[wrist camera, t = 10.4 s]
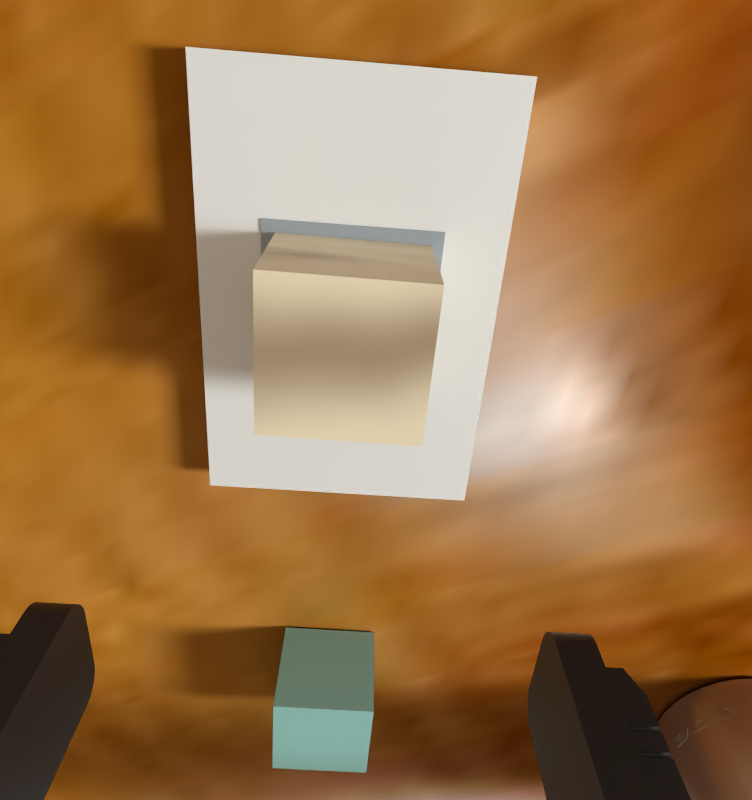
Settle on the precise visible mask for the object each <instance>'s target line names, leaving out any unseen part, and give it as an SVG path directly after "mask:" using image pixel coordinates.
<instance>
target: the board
mask: <svg viewBox="0 0 752 800" xmlns="http://www.w3.org/2000/svg"><path fill="white" fill-rule="evenodd" d="M185 49H186V67H187V84H188V102H189V120H190V138H191V155H192V173H193V191H194V208H195V226H196V244H197V261H198V279H199V297H200V314H201V332H202V350H203V368H204V385H205V403H206V421H207V438H208V456H209V474H210V485H216V486H232V487H249V488H265V489H282V490H298V491H315V492H332V493H348V494H365V495H381V496H398V497H415V498H431V499H448V500H464V499H465V494H466V488H467V482H468V476H469V470H470V464H471V459H472V453H473V447H474V441H475V435H476V430H477V424H478V418H479V412H480V406H481V401H482V395H483V389H484V383H485V377H486V372H487V366H488V360H489V354H490V348H491V343H492V337H493V331H494V325H495V319H496V313H497V308H498V302H499V296H500V290H501V284H502V279H503V273H504V267H505V261H506V255H507V250H508V244H509V238H510V232H511V226H512V221H513V215H514V209H515V203H516V197H517V191H518V186H519V180H520V174H521V168H522V162H523V157H524V151H525V145H526V139H527V133H528V128H529V122H530V116H531V110H532V104H533V99H534V93H535V87H536V81H537V77H535V76H524V75H512V74H500V73H488V72H477V71H465V70H453V69H441V68H429V67H418V66H406V65H394V64H382V63H371V62H359V61H347V60H335V59H324V58H312V57H300V56H288V55H276V54H265V53H253V52H241V51H229V50H218V49H206V48H194V47H185ZM275 232H278V233H290V234H302V235H314V236H326V237H338V238H350V239H362V240H374V241H386V242H398V243H410V244H422V245H432V248H433V251H434V254H435V257H436V260H437V263H438V267H439V270H440V273H441V276H442V279H443V282H444V291H443V298H442V305H441V313H440V320H439V327H438V334H437V342H436V349H435V356H434V364H433V371H432V378H431V385H430V393H429V400H428V407H427V414H426V422H425V429H424V436H423V443H422V447H421V446H407V445H393V444H379V443H365V442H351V441H336V440H322V439H308V438H294V437H280V436H265V435H254V348H253V269H254V267H255V265H256V264H257V262H258V260H259V259H260V257H261V255H262V254H263V252H264V250H265V249H266V247H267V245H268V244H269V242H270V240H271V239H272V237H273V235H274V234H275Z"/></svg>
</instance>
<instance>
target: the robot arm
mask: <svg viewBox="0 0 752 800" xmlns="http://www.w3.org/2000/svg"><path fill="white" fill-rule="evenodd" d="M94 675H95V666H94V659H93V654H92V648H91V643H90V638H89V632H88V627H87V622H86V616H85V612H84V609H83V607H82V606H81V605H78V604H60V603H42V602H35V603H32V604H31V605H30V606H29V607H28V608H27V609H26V610H25V612H24V613H23V615H22V616H21V618H20V619H19V621H18V623H17V624H16V626H15V627H14V629H13V630H12V632H11V633H10V634H0V800H44V798H45V796H46V794H47V791H48V789H49V787H50V785H51V783H52V781H53V778H54V776H55V774H56V772H57V770H58V767H59V765H60V763H61V761H62V759H63V756H64V754H65V752H66V750H67V748H68V745H69V743H70V741H71V739H72V737H73V735H74V732H75V730H76V728H77V726H78V724H79V721H80V719H81V717H82V715H83V713H84V710H85V708H86V706H87V704H88V701H89V698H90V695H91V692H92V688H93V683H94ZM528 718H529V725H530V730H531V734H532V739H533V743H534V747H535V752H536V756H537V760H538V764H539V769H540V773H541V777H542V782H543V786H544V790H545V794H546V799H547V800H752V679H735V680H729V681H723V682H718V683H715V684H712V685H709V686H705V687H702V688H700V689H698V690H696V691H694V692H692V693H689V694H687V695H686V696H684V697H683V698H681V699H680V700H678V701H677V702H675V703H674V704H673V705H672V706H671V707H670V708H669V709H668V710H667V711H666V712H665V713H664V714H663V716H662V717H661V718H660V720H659V721H658V722H657V719H656V717H655V715H654V712H653V710H652V708H651V705H650V703H649V701H648V699H647V696H646V695H645V694H644V692H643V691H642V690H641V689H640V688H639V687H638V685H637V684H636V683H635V682H634V681H633V680H632V678H631V677H630V676H629V675H628V674H627V673H626V671H625V670H624V669H623V668H608V667H605V665H604V662H603V660H602V657H601V655H600V652H599V649H598V647H597V644H596V642H595V640H594V638H593V637H592V636H591V635H590V634H579V633H560V632H546V633H545V635H544V637H543V640H542V643H541V647H540V651H539V654H538V658H537V662H536V665H535V669H534V672H533V676H532V680H531V683H530V687H529V693H528Z"/></svg>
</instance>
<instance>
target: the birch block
mask: <svg viewBox="0 0 752 800" xmlns="http://www.w3.org/2000/svg"><path fill="white" fill-rule="evenodd" d="M443 291H444V282H443V279H442V276H441V273H440V270H439V267H438V263H437V260H436V257H435V254H434V251H433V248H432V245H422V244H410V243H398V242H386V241H374V240H362V239H350V238H338V237H326V236H314V235H302V234H290V233H278V232H275V234H274V235H273V237H272V239H271V240H270V242H269V244H268V245H267V247H266V249H265V250H264V252H263V254H262V255H261V257H260V259H259V260H258V262H257V264H256V265H255V267H254V269H253V348H254V435H265V436H280V437H294V438H308V439H322V440H336V441H351V442H365V443H379V444H393V445H407V446H421V447H422V443H423V436H424V429H425V422H426V414H427V407H428V400H429V393H430V385H431V378H432V371H433V364H434V356H435V349H436V342H437V334H438V327H439V320H440V313H441V305H442V298H443Z"/></svg>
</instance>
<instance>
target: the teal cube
mask: <svg viewBox="0 0 752 800" xmlns="http://www.w3.org/2000/svg"><path fill="white" fill-rule="evenodd" d="M373 714H374V633H373V632H356V631H339V630H321V629H304V628H287V627H286V629H285V635H284V641H283V648H282V654H281V661H280V667H279V673H278V680H277V686H276V692H275V699H274V705H273V768H280V769H300V770H321V771H341V772H362V773H366V770H367V762H368V754H369V746H370V738H371V730H372V722H373Z"/></svg>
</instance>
